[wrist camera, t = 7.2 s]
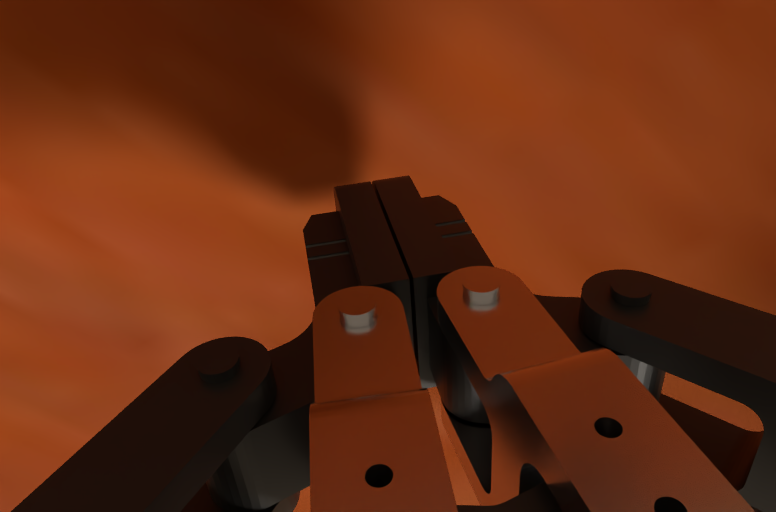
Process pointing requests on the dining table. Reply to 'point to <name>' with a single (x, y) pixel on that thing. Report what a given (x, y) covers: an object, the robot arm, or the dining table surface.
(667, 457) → the robot arm
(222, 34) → the dining table surface
